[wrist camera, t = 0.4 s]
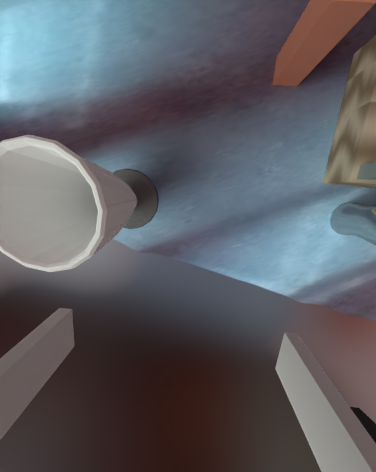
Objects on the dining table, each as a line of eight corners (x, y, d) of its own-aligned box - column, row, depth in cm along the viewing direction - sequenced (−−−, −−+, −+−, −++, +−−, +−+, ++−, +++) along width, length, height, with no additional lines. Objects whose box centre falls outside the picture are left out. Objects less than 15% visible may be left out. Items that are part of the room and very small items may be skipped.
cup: (97, 168, 35) (-48, 131, 14) (157, 169, 35) (99, 133, 14) (102, 227, 38) (-14, 271, 17) (158, 229, 37) (111, 276, 16)
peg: (276, 56, 30) (343, -57, 17) (301, 58, 30) (389, -54, 16) (272, 84, 31) (332, 0, 17) (296, 86, 31) (375, 3, 17)
